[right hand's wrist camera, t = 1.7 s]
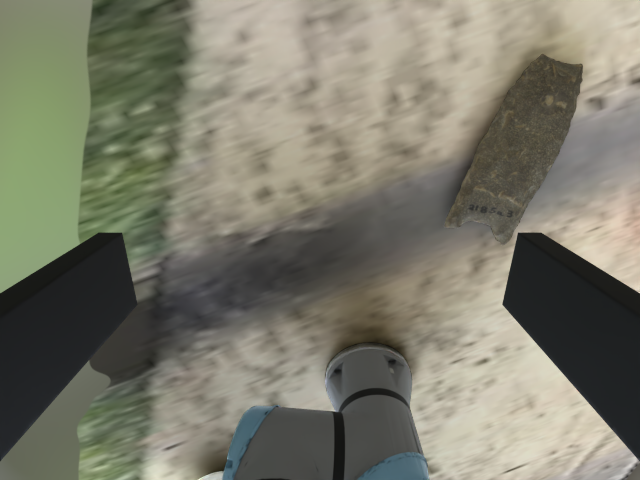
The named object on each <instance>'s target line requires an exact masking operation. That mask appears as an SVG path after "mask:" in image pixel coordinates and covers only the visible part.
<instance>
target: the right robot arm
mask: <svg viewBox="0 0 640 480" xmlns="http://www.w3.org/2000/svg"><path fill="white" fill-rule="evenodd" d="M137 305H138V304H137V300H136V295H135V291H134V286H133V281H132V277H131V272H130V268H129V263H128V258H127V254H126V249H125V244H124V240H123V235H122V233H98V234H96V235H94V236H93V237H91V238H89V239H88V240H86V241H85V242H83V243H81V244H80V245H78V246H77V247H75V248H73V249H72V250H70V251H68V252H67V253H65V254H64V255H62V256H60V257H59V258H57V259H55V260H54V261H52V262H51V263H49V264H47V265H46V266H44V267H43V268H41V269H39V270H38V271H36V272H34V273H33V274H31V275H29V276H28V277H26V278H25V279H23V280H21V281H20V282H18V283H16V284H15V285H13V286H12V287H10V288H8V289H7V290H5V291H4V292H2V293H0V461H1V460H2V459H3V457H4V456H5V455H6V454H7V453H8V452H9V451H10V449H11V448H12V447H13V446H14V445H15V444H16V443H17V441H18V440H19V439H20V438H21V437H22V436H23V435H24V433H25V432H26V431H27V430H28V429H29V428H30V427H31V425H32V424H33V423H34V422H35V421H36V420H37V419H38V417H39V416H40V415H41V414H42V413H43V412H44V411H45V409H46V408H47V407H48V406H49V405H50V404H51V403H52V401H53V400H54V399H55V398H56V397H57V396H58V395H59V393H60V392H61V391H62V390H63V389H64V388H65V387H66V386H67V384H68V383H69V382H70V381H71V380H72V379H73V377H74V376H75V375H76V374H77V373H78V372H79V371H80V369H81V368H82V367H83V366H84V365H85V364H86V363H87V362H88V360H89V359H90V358H91V357H92V356H93V355H94V354H95V352H96V351H97V350H98V349H99V348H100V347H101V346H102V344H103V343H104V342H105V341H106V340H107V339H108V338H109V336H110V335H111V334H112V333H113V332H114V331H115V330H116V328H117V327H118V326H119V325H120V324H121V323H122V322H123V321H124V319H125V318H126V317H127V316H128V315H129V314H130V313H131V311H132V310H133V309H134V308H135V307H136V306H137ZM502 305H503V306H504V307H505V308H506V309H507V310H508V311H509V313H510V314H511V315H512V316H513V317H514V318H515V319H516V321H517V322H518V323H519V324H520V325H521V326H522V327H523V328H524V330H525V331H526V332H527V333H528V334H529V335H530V336H531V338H532V339H533V340H534V341H535V342H536V343H537V344H538V346H539V347H540V348H541V349H542V350H543V351H544V352H545V354H546V355H547V356H548V357H549V358H550V359H551V360H552V362H553V363H554V364H555V365H556V366H557V367H558V368H559V370H560V371H561V372H562V373H563V374H564V375H565V376H566V378H567V379H568V380H569V381H570V382H571V383H572V384H573V386H574V387H575V388H576V389H577V390H578V391H579V392H580V394H581V395H582V396H583V397H584V398H585V399H586V400H587V401H588V403H589V404H590V405H591V406H592V407H593V408H594V409H595V411H596V412H597V413H598V414H599V415H600V416H601V417H602V419H603V420H604V421H605V422H606V423H607V424H608V425H609V427H610V428H611V429H612V430H613V431H614V432H615V433H616V435H617V436H618V437H619V438H620V439H621V440H622V441H623V443H624V444H625V445H626V446H627V447H628V448H629V449H630V451H631V452H632V453H633V454H634V455H635V456H636V457H637V459H638V460H639V461H640V293H638V292H637V291H635V290H633V289H632V288H630V287H628V286H627V285H625V284H624V283H622V282H620V281H619V280H617V279H615V278H614V277H612V276H611V275H609V274H607V273H606V272H604V271H602V270H601V269H599V268H598V267H596V266H594V265H593V264H591V263H589V262H588V261H586V260H585V259H583V258H581V257H580V256H578V255H576V254H575V253H573V252H572V251H570V250H568V249H567V248H565V247H563V246H562V245H560V244H559V243H557V242H555V241H554V240H552V239H551V238H549V237H547V236H546V235H544V234H542V233H518V235H517V240H516V244H515V249H514V254H513V258H512V263H511V268H510V272H509V277H508V281H507V286H506V291H505V295H504V300H503V304H502ZM411 389H412V375H411V372H410V368H409V366H408V363H407V361H406V360H405V358H404V357H403V356H402V355H401V354H400V353H399V352H398V351H397V350H395V349H393V348H391V347H389V346H386V345H383V344H379V343H361V344H356V345H353V346H350V347H348V348H346V349H344V350H342V351H341V352H339V353H338V354H337V355H336V356H335V357H334V358H333V359H332V360H331V362H330V363H329V365H328V368H327V371H326V390H327V393H328V396H329V398H330V400H331V403H332V405H333V407H334V409H335V411H336V412H332V411H320V410H308V409H296V408H285V407H281V406H279V405H274V406H254V407H251V408H250V409H248V410H247V411H246V412H245V413H244V414H243V416H242V418H241V419H240V421H239V423H238V426H237V428H236V431H235V433H234V436H233V439H232V442H231V445H230V448H229V452H228V456H227V463H226V465H225V469H224V472H223V477H222V480H430V479H429V475H428V468H427V467H428V465H427V461H426V459H425V457H424V454H423V451H422V448H421V444H420V441H419V437H418V434H417V431H416V427H415V424H414V420H413V417H412V414H411V410H410V398H411Z"/></svg>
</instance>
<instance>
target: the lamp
mask: <svg viewBox="0 0 640 480" xmlns="http://www.w3.org/2000/svg"><path fill="white" fill-rule="evenodd" d="M222 477H223V472H215V473H211V474H208V475H206V476H204V477H202V478H200V479H199V480H222Z"/></svg>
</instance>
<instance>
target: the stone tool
mask: <svg viewBox="0 0 640 480" xmlns="http://www.w3.org/2000/svg"><path fill="white" fill-rule="evenodd" d="M582 69H583V65H582V64H576V65H572V64H567V63H563V62H559V61H555V60H554V59H551V58H549V57H547V56H546V55H544V54H542V55H541V56H539V57H538V58H537V59H536V60H535V61H533V62H532V63H531V64H530V66H529V67H528V68H527V69H526V70H525V71H524V72H523V74H522V76H521V77H520V78H519V79H518V80H517V82H516V84H515V85H514V86H513V87H512V88H511V89H510V90H509V91H508V94H507V96H506V98H505V100H504V102H503V104H502V106H501V107H500V110H499V112H498V113H497V114H496V116H495V118H494V120H493V121H492V124H491V126H490V128H489V130H488V132H487V134H485V135H484V136H483V138H482V141H481V142H480V144H479V145H478V149H477V151H476V153H475V155H474V159H473V163H472V164H471V167H470V169H469V170H468V172H467V174H466V176H465V179H464V180H463V182H462V185H461V189H460V191H459V193H458V194H457V196H456V200H455V203H454V204H453V206H452V208H451V210H450V212H449V214H448V215H447V218H446V221H445V224H444V227H446V228H458V227H460V226H461V225H462V224H463V223H465V222H469V221H475V222H479V223H484V224H486V225H490V226H491V229H492V231H493V234H494V236H495V237H496V240H497V241H499V242H500V244H501V245H505V244H506V243H507V242H508V241H509V240H510V238H511V237H512V234H513V232H514V230H515V229H516V227H517V226H518V224H519V222H520V219H521V217H522V215H523V213H524V211H525V209H526V207H527V205H528V203H529V202H530V200H531V199H532V198H533V196H534V194H535V193H536V191H537V190H538V189H539V187H540V185H541V183H542V182H543V181H544V179H545V177H546V175H547V173H548V171H549V170H550V168H551V166H552V164H553V163H554V161H555V159H556V157H557V156H558V154H559V151H560V148H561V146H562V144H563V142H564V139H565V137H566V135H567V133H568V131H569V128H570V122H571V119H572V117H573V115H574V112H575V110H576V102H577V96H578V95H579V93H580V84H581V82H582Z"/></svg>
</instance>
